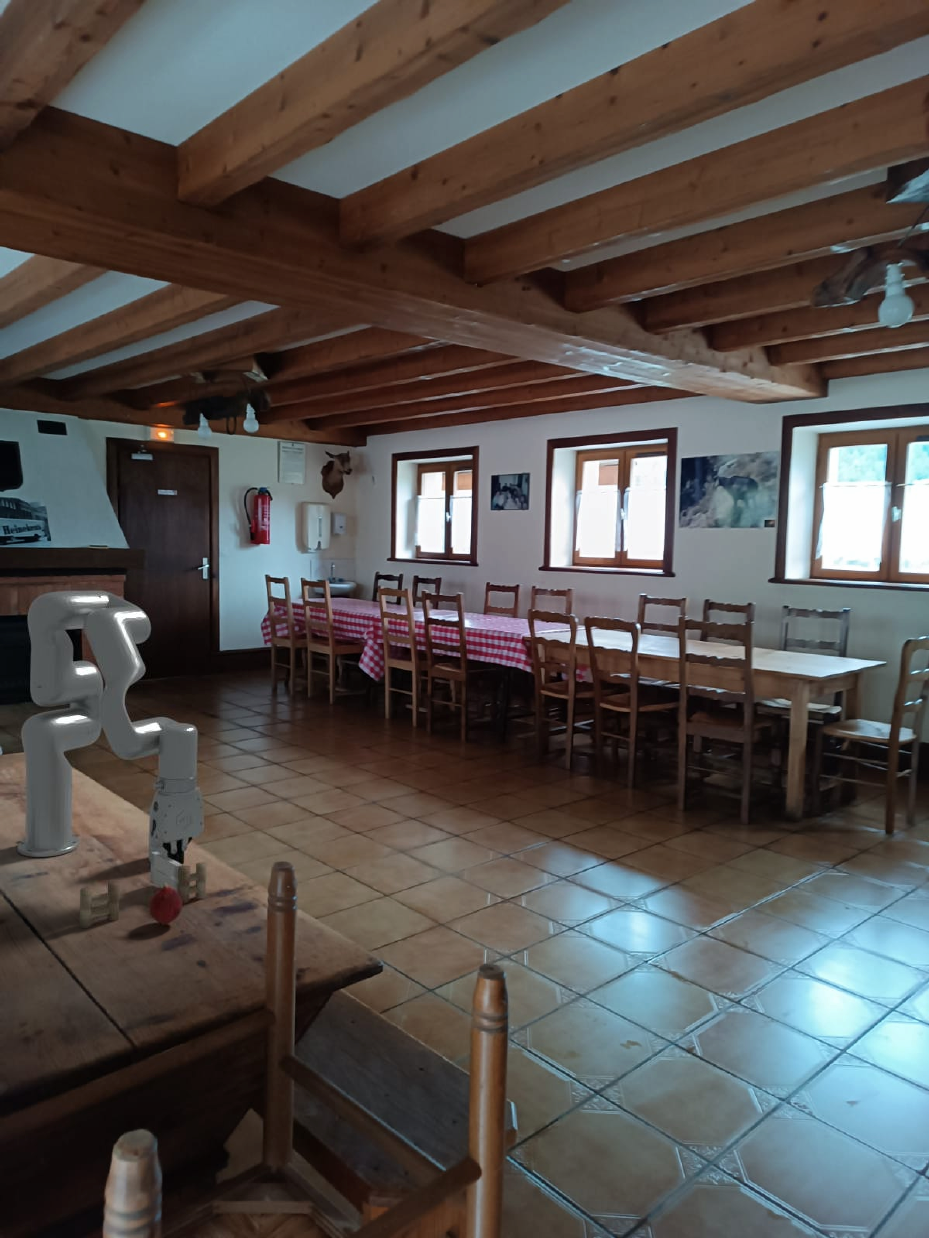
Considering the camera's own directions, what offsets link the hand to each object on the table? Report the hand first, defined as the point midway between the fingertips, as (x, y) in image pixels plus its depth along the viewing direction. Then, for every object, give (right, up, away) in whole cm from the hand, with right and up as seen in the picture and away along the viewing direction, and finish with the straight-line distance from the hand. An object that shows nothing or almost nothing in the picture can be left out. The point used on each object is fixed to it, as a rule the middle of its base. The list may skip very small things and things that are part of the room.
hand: (175, 868), depth 178 cm
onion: (+4, -6, -17) cm, 19 cm away
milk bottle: (-7, -2, +14) cm, 16 cm away
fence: (-2, -5, -12) cm, 13 cm away
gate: (-1, -3, -3) cm, 4 cm away
